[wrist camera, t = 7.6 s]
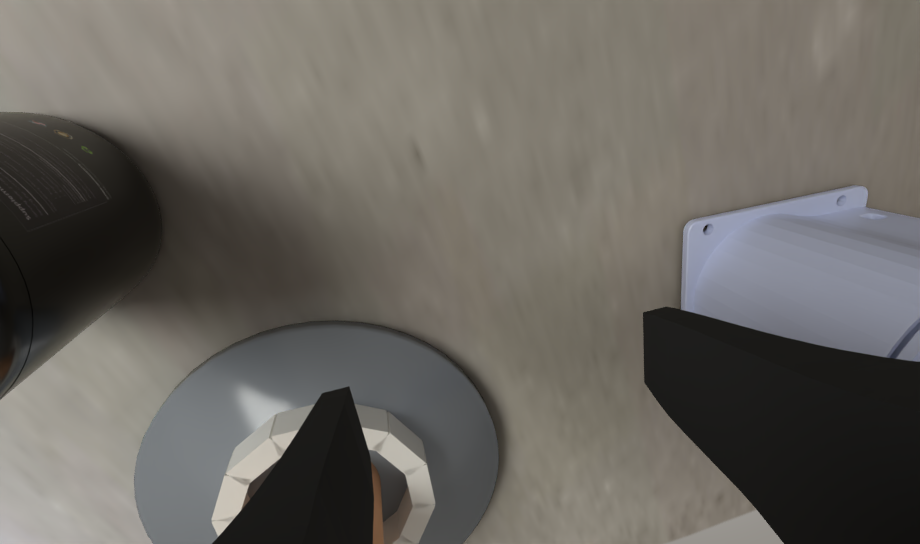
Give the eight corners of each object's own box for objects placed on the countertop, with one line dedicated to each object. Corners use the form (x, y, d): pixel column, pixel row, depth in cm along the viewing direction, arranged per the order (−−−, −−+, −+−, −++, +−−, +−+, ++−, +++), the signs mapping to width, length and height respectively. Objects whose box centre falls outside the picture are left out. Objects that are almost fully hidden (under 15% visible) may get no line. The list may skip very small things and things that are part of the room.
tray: (471, 285, 20) (484, 306, 18) (510, 544, 26) (523, 583, 24) (76, 371, 18) (38, 406, 16) (214, 631, 24) (200, 683, 22)
